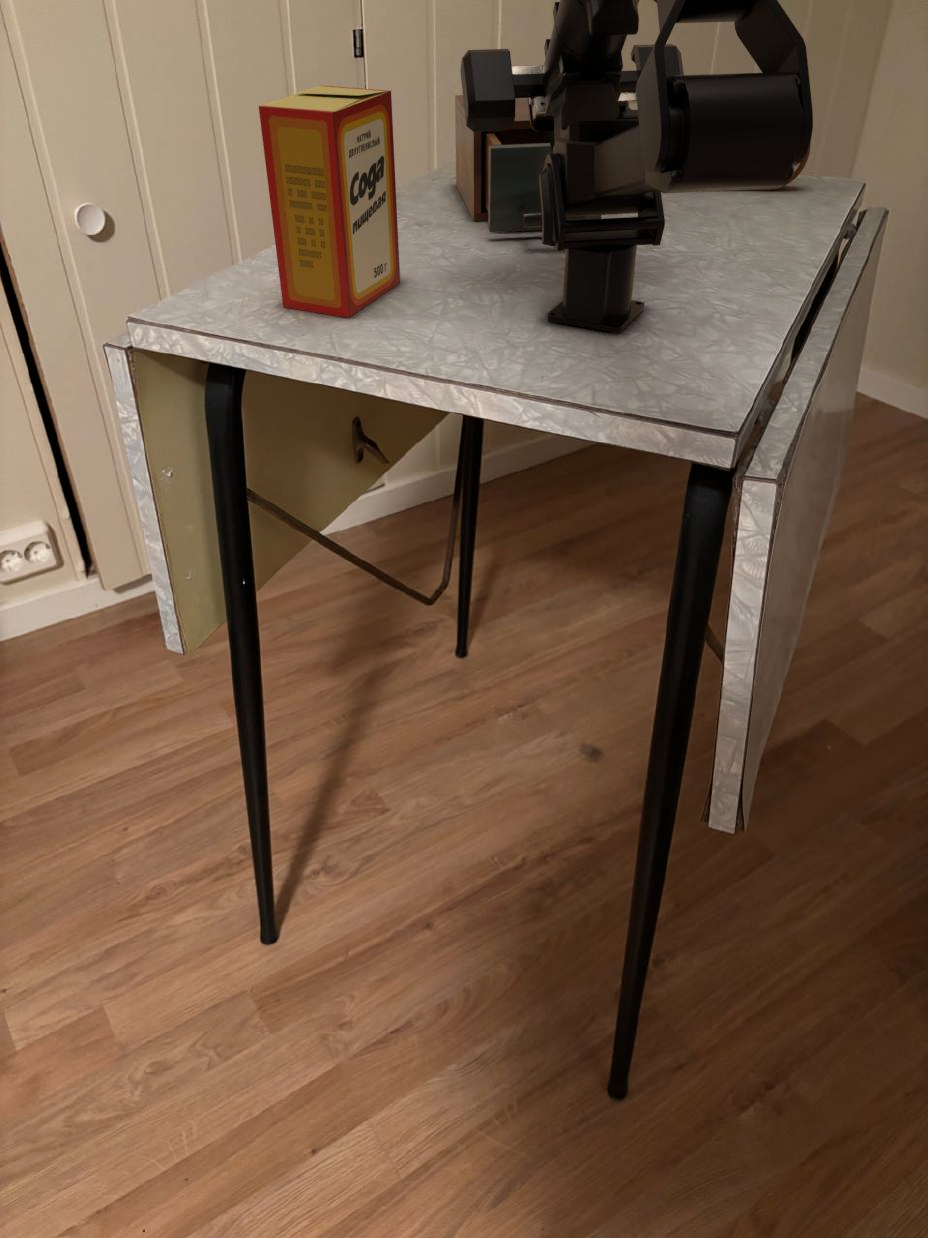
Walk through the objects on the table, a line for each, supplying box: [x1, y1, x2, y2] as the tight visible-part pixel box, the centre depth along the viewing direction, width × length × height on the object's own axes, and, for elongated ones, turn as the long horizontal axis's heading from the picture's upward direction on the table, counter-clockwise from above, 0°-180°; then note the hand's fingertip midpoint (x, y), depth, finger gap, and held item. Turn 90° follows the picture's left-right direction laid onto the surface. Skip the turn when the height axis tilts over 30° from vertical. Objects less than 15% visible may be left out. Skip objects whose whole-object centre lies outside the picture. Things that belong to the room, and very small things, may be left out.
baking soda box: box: [258, 85, 401, 319], centre depth 82 cm, size 10×6×16 cm
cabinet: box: [454, 94, 532, 222], centre depth 108 cm, size 15×13×10 cm
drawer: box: [481, 129, 603, 233], centre depth 100 cm, size 18×11×8 cm, turn 8°
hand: (555, 146), depth 91 cm, fingers closed
